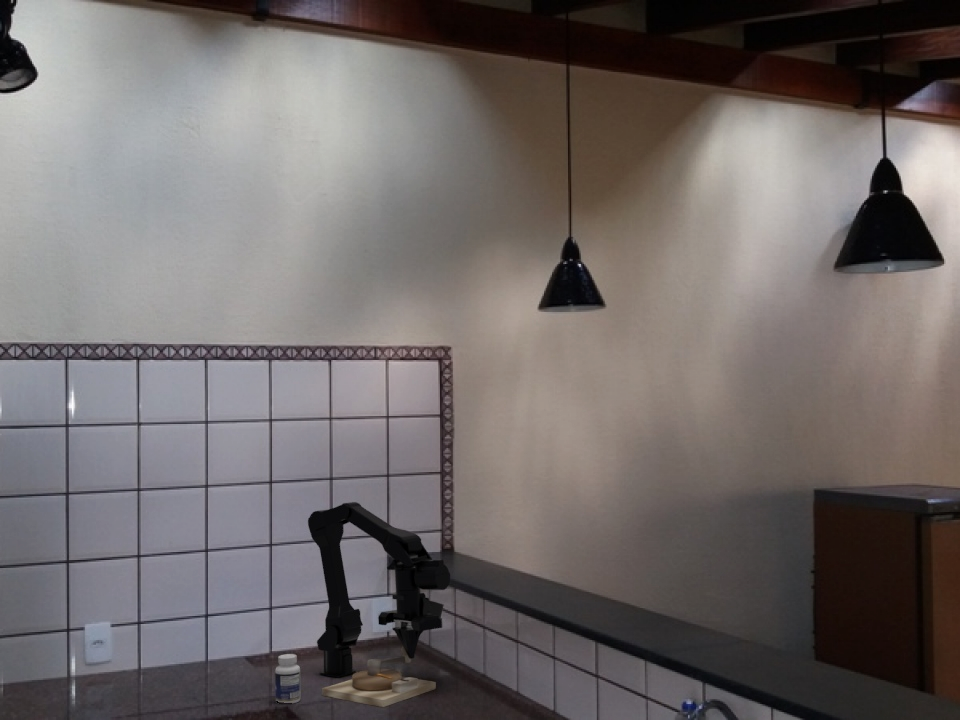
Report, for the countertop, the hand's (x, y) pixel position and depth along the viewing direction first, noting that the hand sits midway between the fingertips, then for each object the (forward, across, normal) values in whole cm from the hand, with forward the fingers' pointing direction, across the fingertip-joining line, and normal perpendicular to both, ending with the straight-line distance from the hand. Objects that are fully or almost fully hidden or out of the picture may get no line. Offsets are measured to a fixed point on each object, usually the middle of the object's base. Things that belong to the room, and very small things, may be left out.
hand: (411, 658), depth 243 cm
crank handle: (+4, +1, +7) cm, 8 cm away
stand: (+6, +1, +8) cm, 11 cm away
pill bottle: (+6, +7, +28) cm, 29 cm away
